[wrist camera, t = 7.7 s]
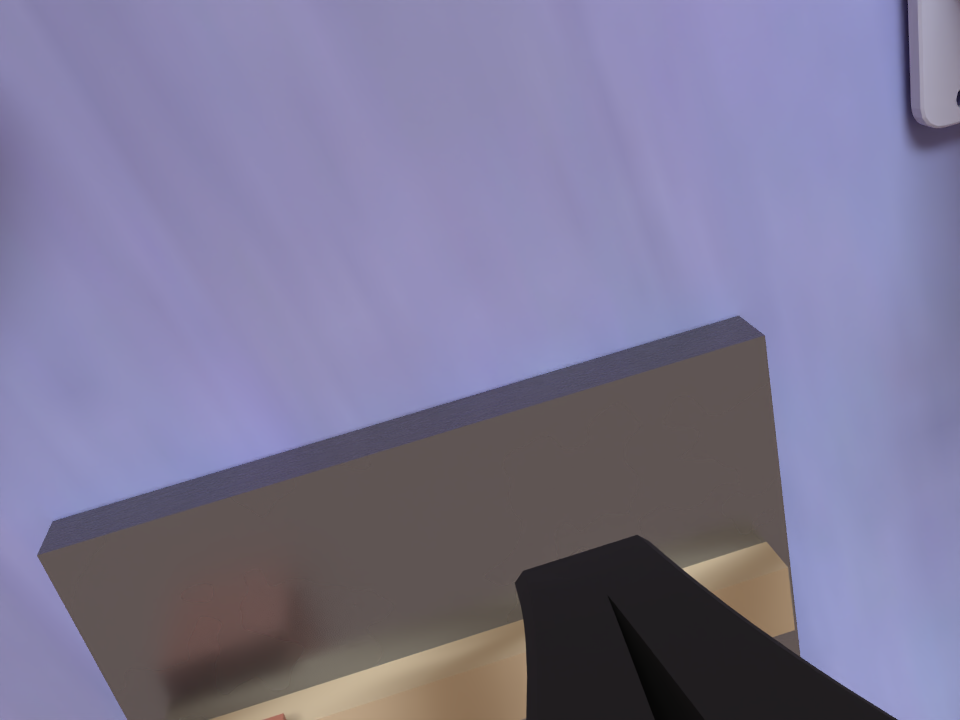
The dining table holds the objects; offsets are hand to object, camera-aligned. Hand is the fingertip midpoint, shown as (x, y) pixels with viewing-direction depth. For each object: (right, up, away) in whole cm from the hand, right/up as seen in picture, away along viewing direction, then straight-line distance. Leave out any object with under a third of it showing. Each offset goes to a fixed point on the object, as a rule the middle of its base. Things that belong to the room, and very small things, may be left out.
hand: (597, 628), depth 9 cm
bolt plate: (-1, -5, +13) cm, 13 cm away
